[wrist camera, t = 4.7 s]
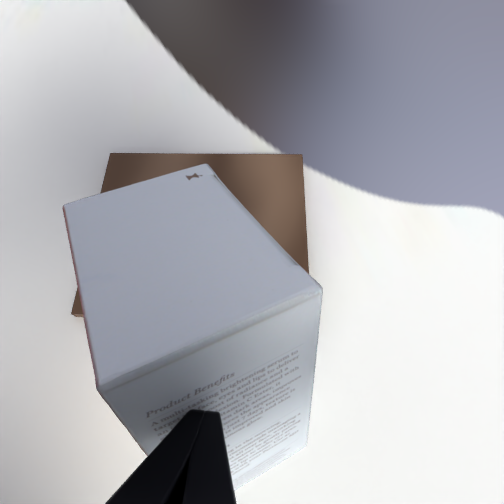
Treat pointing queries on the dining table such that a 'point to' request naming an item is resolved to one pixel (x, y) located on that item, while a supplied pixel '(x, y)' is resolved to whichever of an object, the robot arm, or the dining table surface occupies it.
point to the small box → (196, 316)
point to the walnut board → (232, 190)
